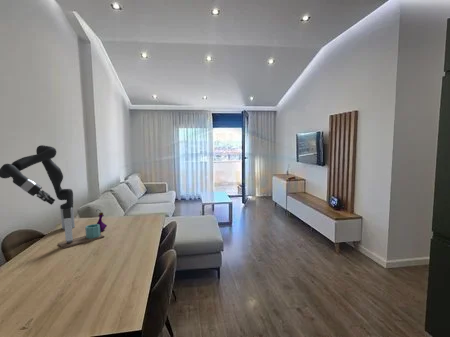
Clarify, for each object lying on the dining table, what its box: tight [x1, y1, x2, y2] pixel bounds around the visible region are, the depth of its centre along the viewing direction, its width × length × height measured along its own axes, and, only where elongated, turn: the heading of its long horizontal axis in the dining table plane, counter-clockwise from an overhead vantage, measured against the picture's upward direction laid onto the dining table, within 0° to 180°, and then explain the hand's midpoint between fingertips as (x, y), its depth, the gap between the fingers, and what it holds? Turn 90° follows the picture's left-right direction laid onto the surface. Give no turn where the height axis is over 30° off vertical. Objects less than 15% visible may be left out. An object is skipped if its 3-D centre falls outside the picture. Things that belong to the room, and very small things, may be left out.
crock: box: [84, 223, 101, 239], centre depth 192 cm, size 9×9×8 cm
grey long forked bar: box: [63, 208, 74, 244], centre depth 179 cm, size 4×4×24 cm
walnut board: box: [57, 233, 105, 250], centre depth 186 cm, size 12×27×1 cm, turn 138°
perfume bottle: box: [95, 208, 108, 233], centre depth 207 cm, size 8×8×18 cm
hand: (53, 202), depth 175 cm, fingers open, 8 cm apart
